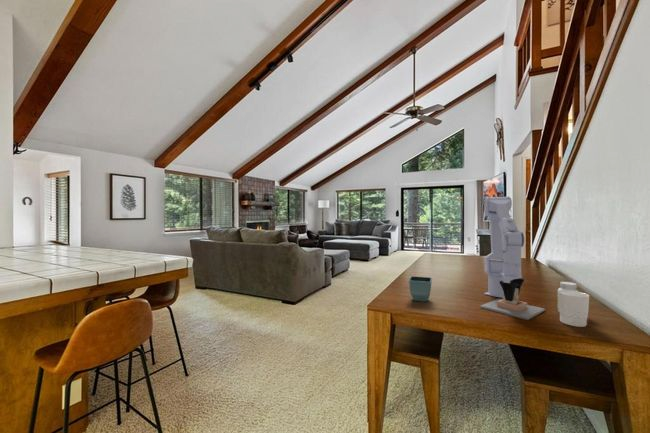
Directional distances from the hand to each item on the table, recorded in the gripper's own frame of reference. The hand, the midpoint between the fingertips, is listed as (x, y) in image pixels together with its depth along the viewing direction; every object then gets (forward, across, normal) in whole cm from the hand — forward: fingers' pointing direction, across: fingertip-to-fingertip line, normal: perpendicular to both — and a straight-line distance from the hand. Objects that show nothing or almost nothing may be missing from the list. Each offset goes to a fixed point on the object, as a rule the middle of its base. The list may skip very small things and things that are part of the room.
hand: (512, 298), depth 111 cm
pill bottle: (+4, -10, +15) cm, 19 cm away
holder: (+4, 0, 0) cm, 4 cm away
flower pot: (+4, +14, -30) cm, 34 cm away
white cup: (+4, +1, +18) cm, 19 cm away
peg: (+3, 0, 0) cm, 3 cm away
